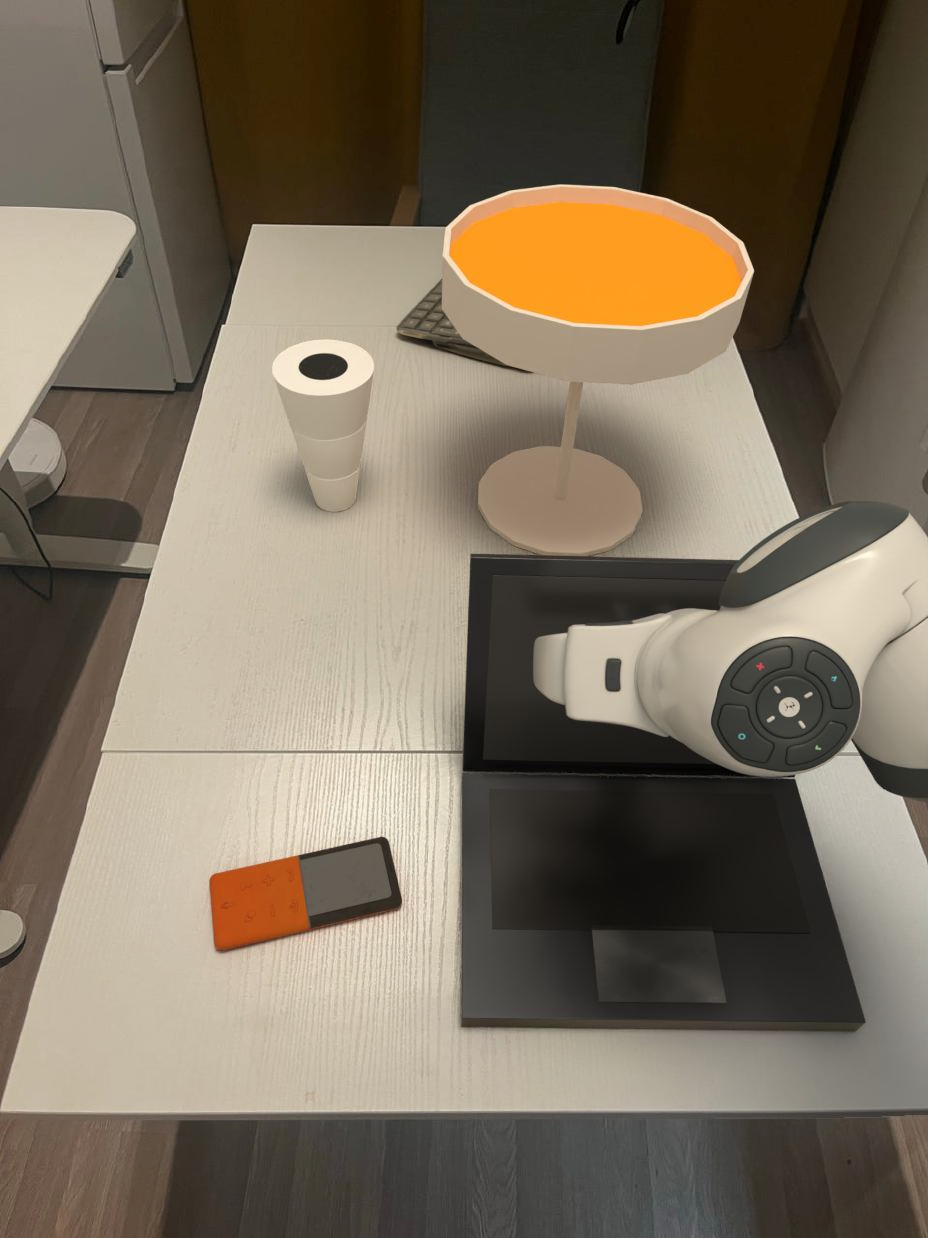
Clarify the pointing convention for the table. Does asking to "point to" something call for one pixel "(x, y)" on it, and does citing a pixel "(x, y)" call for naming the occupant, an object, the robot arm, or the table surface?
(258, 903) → the phone
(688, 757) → the notebook screen
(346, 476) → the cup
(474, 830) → the notebook
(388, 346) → the table surface
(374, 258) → the table surface
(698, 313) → the cream stemmed bowl
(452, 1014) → the table surface
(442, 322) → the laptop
